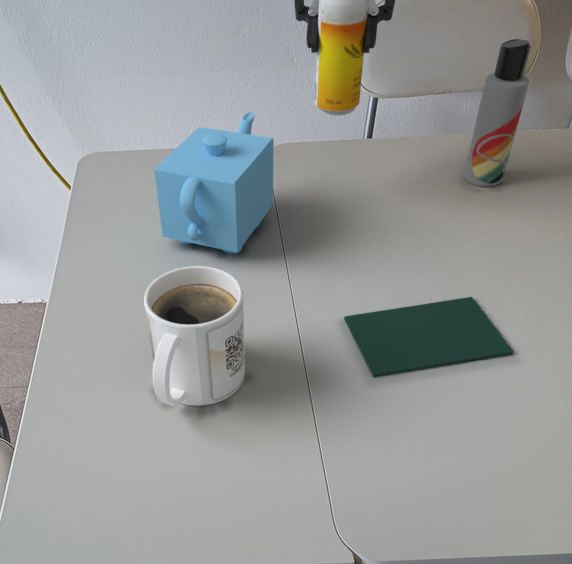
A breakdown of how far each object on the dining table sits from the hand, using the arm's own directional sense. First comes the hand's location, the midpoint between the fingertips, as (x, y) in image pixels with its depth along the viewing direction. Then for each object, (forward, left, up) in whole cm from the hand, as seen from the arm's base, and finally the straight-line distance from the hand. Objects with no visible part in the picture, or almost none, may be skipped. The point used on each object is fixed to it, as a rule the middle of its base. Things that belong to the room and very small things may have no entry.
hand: (340, 49), depth 83 cm
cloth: (-1, +33, -21) cm, 39 cm away
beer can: (-1, -2, -8) cm, 9 cm away
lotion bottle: (-24, +1, -21) cm, 33 cm away
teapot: (+17, +4, -21) cm, 27 cm away
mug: (+26, +34, -21) cm, 47 cm away
